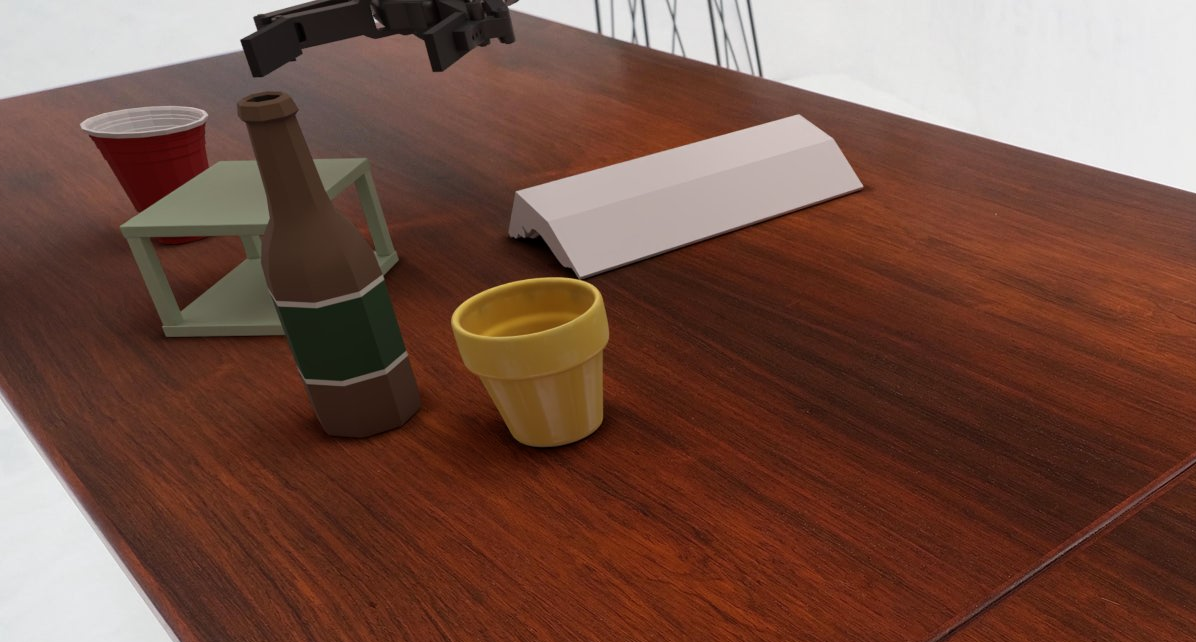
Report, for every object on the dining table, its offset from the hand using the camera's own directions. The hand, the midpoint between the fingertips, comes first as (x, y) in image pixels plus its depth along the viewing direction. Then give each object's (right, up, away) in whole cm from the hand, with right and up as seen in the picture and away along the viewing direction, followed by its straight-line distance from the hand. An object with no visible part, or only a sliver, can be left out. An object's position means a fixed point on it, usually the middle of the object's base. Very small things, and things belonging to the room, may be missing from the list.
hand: (341, 56), depth 94 cm
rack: (-16, -14, +23) cm, 31 cm away
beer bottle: (0, -26, +4) cm, 26 cm away
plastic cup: (-34, -5, +37) cm, 50 cm away
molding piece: (+18, -3, +37) cm, 41 cm away
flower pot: (+15, -27, +2) cm, 31 cm away
